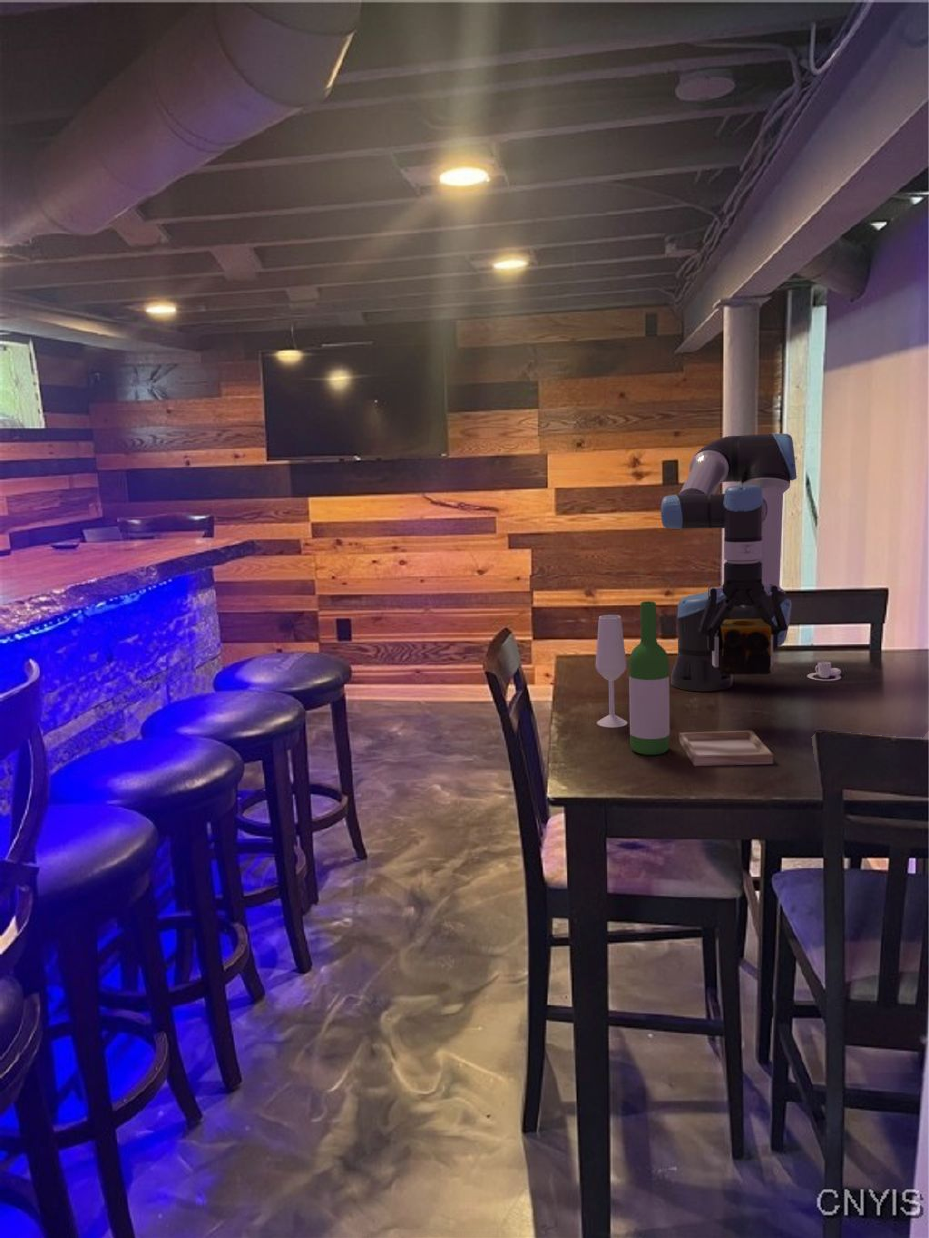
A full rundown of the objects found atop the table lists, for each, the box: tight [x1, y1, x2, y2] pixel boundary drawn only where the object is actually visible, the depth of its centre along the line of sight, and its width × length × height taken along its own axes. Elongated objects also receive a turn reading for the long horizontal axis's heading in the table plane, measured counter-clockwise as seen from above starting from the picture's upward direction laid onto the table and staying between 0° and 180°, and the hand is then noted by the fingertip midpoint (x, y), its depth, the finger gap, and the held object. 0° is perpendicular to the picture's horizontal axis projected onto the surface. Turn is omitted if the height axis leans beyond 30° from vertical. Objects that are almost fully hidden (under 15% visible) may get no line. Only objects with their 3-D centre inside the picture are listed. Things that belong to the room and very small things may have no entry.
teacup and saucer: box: [806, 661, 842, 682], centre depth 217 cm, size 9×8×4 cm
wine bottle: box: [628, 601, 671, 756], centre depth 167 cm, size 8×8×30 cm
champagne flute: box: [595, 614, 628, 728], centre depth 186 cm, size 7×7×24 cm
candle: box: [716, 619, 772, 675], centre depth 179 cm, size 10×10×10 cm
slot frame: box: [678, 730, 774, 767], centre depth 166 cm, size 15×15×2 cm
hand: (742, 664), depth 180 cm, fingers closed on candle, 10 cm apart
